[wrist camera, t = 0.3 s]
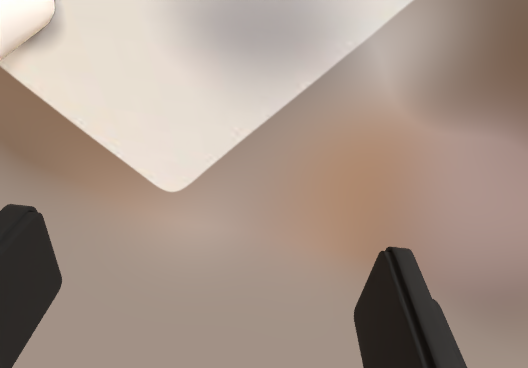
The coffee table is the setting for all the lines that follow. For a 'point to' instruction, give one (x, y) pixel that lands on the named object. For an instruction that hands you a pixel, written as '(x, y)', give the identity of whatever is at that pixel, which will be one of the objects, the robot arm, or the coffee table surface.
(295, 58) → the coffee table surface
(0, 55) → the foam cup
